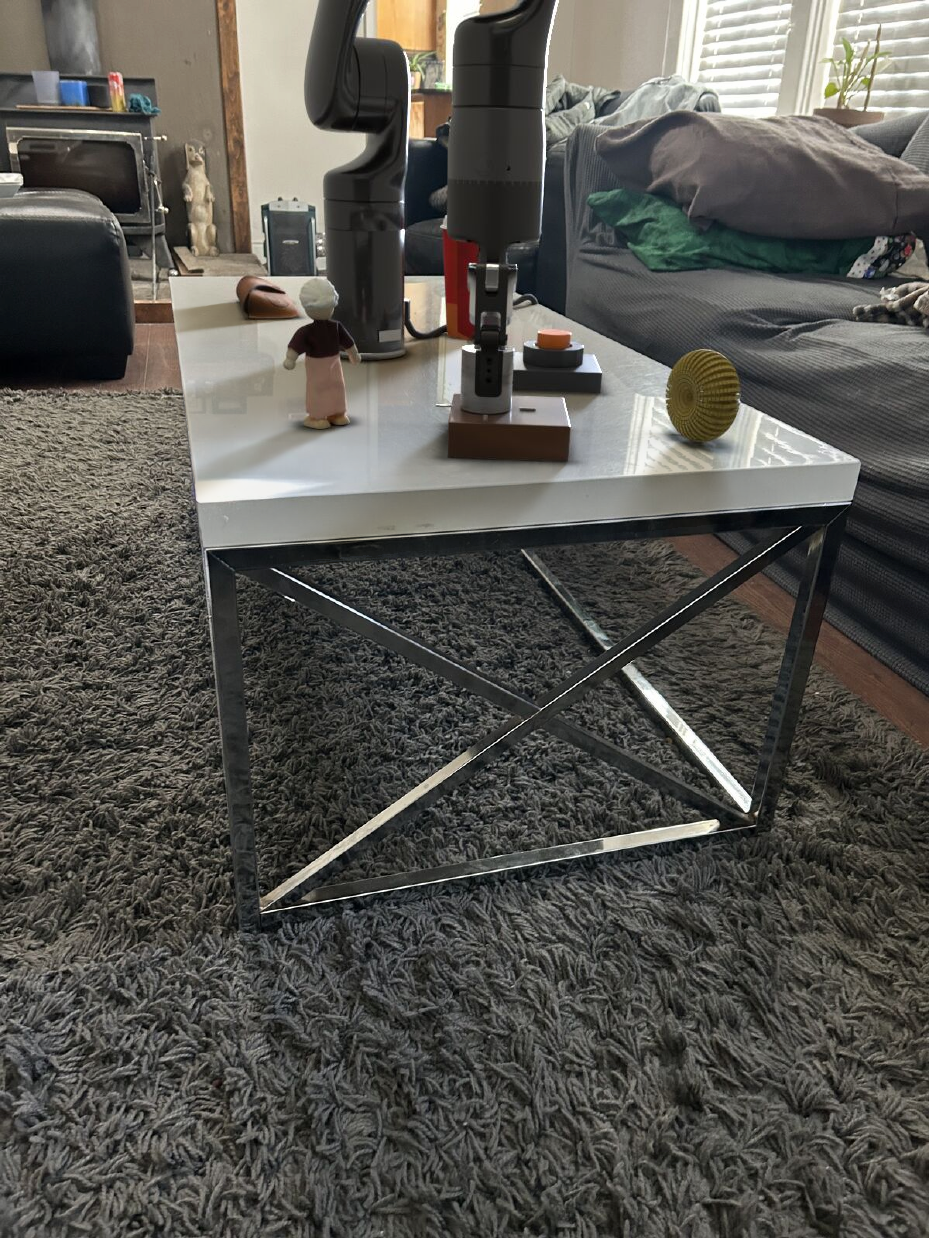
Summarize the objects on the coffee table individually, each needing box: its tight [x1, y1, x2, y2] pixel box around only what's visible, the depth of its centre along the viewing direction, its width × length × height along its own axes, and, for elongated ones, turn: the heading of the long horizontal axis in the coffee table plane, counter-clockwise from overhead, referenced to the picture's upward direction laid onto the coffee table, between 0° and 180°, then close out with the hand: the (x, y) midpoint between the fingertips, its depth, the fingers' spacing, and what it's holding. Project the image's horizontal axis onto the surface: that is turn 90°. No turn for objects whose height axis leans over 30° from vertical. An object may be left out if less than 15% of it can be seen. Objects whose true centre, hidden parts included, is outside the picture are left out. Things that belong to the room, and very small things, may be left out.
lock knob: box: [460, 343, 515, 414], centre depth 81 cm, size 4×4×5 cm
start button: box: [536, 328, 572, 349], centre depth 104 cm, size 4×4×2 cm
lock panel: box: [435, 393, 572, 462], centre depth 83 cm, size 10×11×3 cm
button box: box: [512, 339, 603, 394], centre depth 105 cm, size 10×10×4 cm
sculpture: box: [664, 348, 742, 443], centre depth 84 cm, size 8×4×8 cm, turn 24°
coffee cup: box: [439, 214, 479, 340], centre depth 127 cm, size 8×8×15 cm
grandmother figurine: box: [282, 277, 362, 430], centre depth 85 cm, size 8×4×13 cm, turn 141°
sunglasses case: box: [235, 275, 300, 320], centre depth 145 cm, size 18×7×7 cm
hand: (488, 385), depth 81 cm, fingers open, 8 cm apart
